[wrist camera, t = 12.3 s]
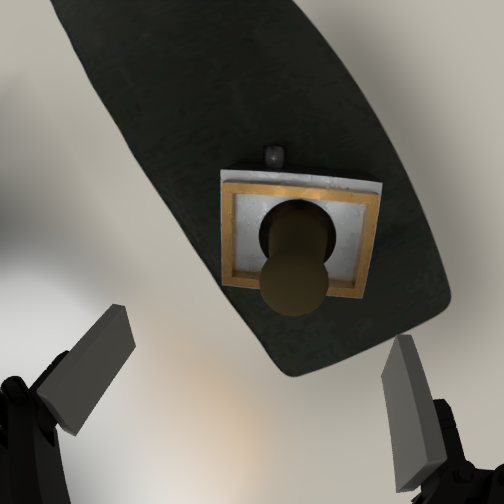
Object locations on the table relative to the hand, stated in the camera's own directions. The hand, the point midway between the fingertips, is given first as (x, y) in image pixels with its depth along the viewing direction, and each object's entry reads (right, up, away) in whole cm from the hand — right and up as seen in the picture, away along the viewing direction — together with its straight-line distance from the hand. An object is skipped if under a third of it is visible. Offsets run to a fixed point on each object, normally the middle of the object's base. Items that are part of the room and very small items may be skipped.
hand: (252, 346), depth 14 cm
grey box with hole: (+6, +9, +22) cm, 25 cm away
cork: (+5, +6, +17) cm, 19 cm away
